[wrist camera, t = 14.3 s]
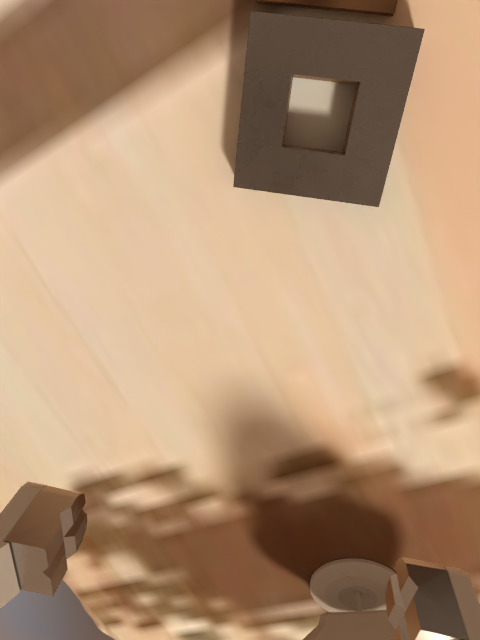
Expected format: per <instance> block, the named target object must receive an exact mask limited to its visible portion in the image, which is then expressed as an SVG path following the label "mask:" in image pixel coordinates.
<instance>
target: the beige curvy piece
mask: <svg viewBox="0 0 480 640" xmlns="http://www.w3.org/2000/svg"><path fill="white" fill-rule="evenodd" d="M395 574H397V573H396V572H394V571H393V570H392V569H390V568H389V567H387V566H385V565H383V564H380V563H377V562H374V561H370V560H365V559H356V558H349V559H340V560H334V561H331V562H329V563H326V564H324V565H322V566H321V567H319V568H318V569H317V570H316V571H315V572H314V573H313V575H312V576H311V580H310V592H311V595H312V597H313V598H314V600H315V601H316V602H317V603H318V604H319V605H320V606H321V607H322V608H324V609H325V610H327V611H329V612H327V613H325V614H323V615H321V617H320V620H319V624H318V626H317V627H316V628H315V629H314V630H313V631H311V632H310V633H309V634H308V635H307V636H306V637H305V638H304V639H303V640H391V639H392V637H393V635H394V633H395V631H396V630H395V628H394V627H393V626H392V624H391V623H390V621H389V620H388V617H387V610H386V589H387V584H388V581H389V579H390V577H391V576H393V575H395ZM360 593H361V594H360Z"/></svg>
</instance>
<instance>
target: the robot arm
mask: <svg viewBox="0 0 480 640" xmlns="http://www.w3.org/2000/svg"><path fill="white" fill-rule="evenodd" d="M85 503H86V502H85V495H84V494H82V493H78V492H73V491H69V490H64V489H60V488H55V487H51V486H47V485H42V484H37V483H32V482H27V483H26V484H24V485H23V486H22V487H21V488H20V489H19V490H18V492H17V493H16V494H15V495H14V497H13V498H12V499H11V501H10V502H9V503H8V505H7V506H6V507H5V508H4V510H3V511H2V512H1V514H0V608H1V607H2V606H4V605H5V604H6V603H7V602H8V601H10V600H11V599H12V598H13V597H14V596H16V595H17V594H18V593H19V592H20V590H26V591H31V592H36V593H41V594H47V595H52V596H53V595H54V593H55V592H56V590H57V588H58V586H59V584H60V582H61V580H62V579H63V577H64V575H65V573H66V571H67V561H66V559H67V558H69V557H70V556H72V555H73V554H75V553H76V552H77V550H78V548H79V546H80V544H81V542H82V540H83V537H84V534H85V531H86V526H87V514H86V513H85V512H84V511H83V509H82V508H83V506H84V505H85ZM395 567H396V572H397V574H395V575H393V576H391V577H390V579H389V581H388V584H387V589H386V610H387V617H388V620H389V621H390V623H391V624H392V626H393V627H394V628H395V630H396V631H395V633H394V635H393V637H392V639H391V640H480V604H479V601H478V598H477V596H476V593H475V590H474V587H473V584H472V582H471V579H470V576H469V575H468V573H467V572H466V571H465V570H463V569H458V568H452V567H447V566H442V565H440V564H435V563H429V562H424V561H419V560H413V559H408V558H402V557H401V558H400V559H398V561H397V563H396V565H395Z"/></svg>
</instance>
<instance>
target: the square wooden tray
mask: <svg viewBox="0 0 480 640" xmlns="http://www.w3.org/2000/svg"><path fill="white" fill-rule="evenodd" d="M256 2H259V3H269V4H279V5H289V6H299V7H308V8H318V9H328V10H338V11H348V12H358V13H368V14H378V15H387V16H393V14H394V12H395V8H396V4H397V0H256Z"/></svg>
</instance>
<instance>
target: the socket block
mask: <svg viewBox="0 0 480 640" xmlns="http://www.w3.org/2000/svg"><path fill="white" fill-rule="evenodd" d="M424 30H425V29H420V28H410V27H401V26H391V25H381V24H371V23H362V22H352V21H342V20H333V19H323V18H313V17H304V16H294V15H284V14H274V13H265V12H255V11H251V13H250V23H249V33H248V44H247V54H246V64H245V74H244V84H243V94H242V105H241V115H240V125H239V135H238V145H237V156H236V166H235V176H234V186H233V187H238V188H245V189H252V190H260V191H267V192H274V193H281V194H288V195H296V196H303V197H310V198H317V199H325V200H332V201H339V202H346V203H353V204H361V205H368V206H375V207H379V204H380V200H381V196H382V192H383V188H384V184H385V181H386V177H387V173H388V169H389V165H390V161H391V157H392V153H393V150H394V146H395V142H396V138H397V134H398V130H399V126H400V122H401V119H402V115H403V111H404V107H405V103H406V99H407V95H408V91H409V88H410V84H411V80H412V76H413V72H414V68H415V64H416V61H417V57H418V53H419V49H420V45H421V41H422V37H423V33H424ZM293 77H297V78H306V79H314V80H323V81H332V82H340V83H349V84H357V86H356V91H355V95H354V100H353V105H352V110H351V115H350V120H349V124H348V129H347V134H346V139H345V144H344V149H343V153H339V152H331V151H324V150H316V149H308V148H300V147H293V146H285V145H283V143H284V136H285V129H286V122H287V115H288V108H289V101H290V94H291V87H292V80H293Z"/></svg>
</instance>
